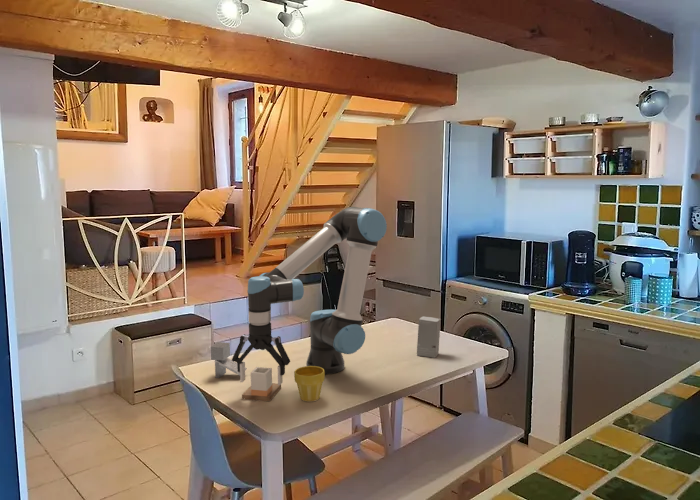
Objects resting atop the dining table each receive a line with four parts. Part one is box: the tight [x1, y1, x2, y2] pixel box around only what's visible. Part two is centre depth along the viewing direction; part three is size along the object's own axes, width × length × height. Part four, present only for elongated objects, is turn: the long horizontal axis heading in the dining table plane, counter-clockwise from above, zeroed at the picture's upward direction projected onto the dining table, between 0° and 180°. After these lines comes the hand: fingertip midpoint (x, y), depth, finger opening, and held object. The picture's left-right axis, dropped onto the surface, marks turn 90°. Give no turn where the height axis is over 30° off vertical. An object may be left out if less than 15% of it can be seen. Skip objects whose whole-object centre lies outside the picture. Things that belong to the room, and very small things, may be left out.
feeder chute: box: [210, 341, 247, 379], centre depth 211 cm, size 12×6×12 cm, turn 78°
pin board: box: [241, 382, 282, 402], centre depth 195 cm, size 10×12×6 cm
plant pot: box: [293, 366, 326, 403], centre depth 191 cm, size 10×10×10 cm
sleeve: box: [250, 366, 273, 396], centre depth 192 cm, size 6×6×8 cm
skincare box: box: [416, 316, 442, 359], centre depth 235 cm, size 8×7×16 cm
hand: (261, 382), depth 192 cm, fingers open, 13 cm apart
